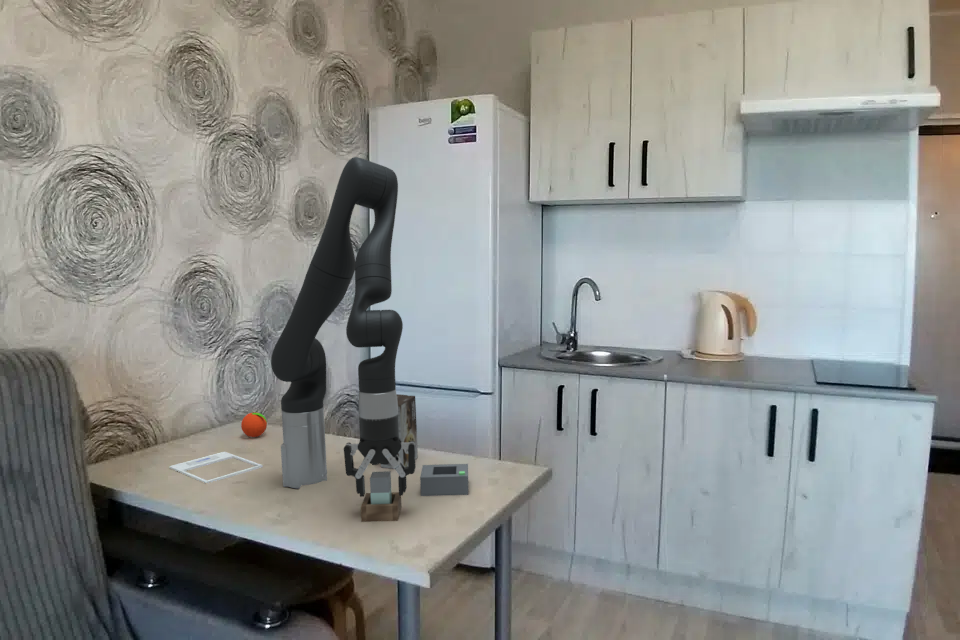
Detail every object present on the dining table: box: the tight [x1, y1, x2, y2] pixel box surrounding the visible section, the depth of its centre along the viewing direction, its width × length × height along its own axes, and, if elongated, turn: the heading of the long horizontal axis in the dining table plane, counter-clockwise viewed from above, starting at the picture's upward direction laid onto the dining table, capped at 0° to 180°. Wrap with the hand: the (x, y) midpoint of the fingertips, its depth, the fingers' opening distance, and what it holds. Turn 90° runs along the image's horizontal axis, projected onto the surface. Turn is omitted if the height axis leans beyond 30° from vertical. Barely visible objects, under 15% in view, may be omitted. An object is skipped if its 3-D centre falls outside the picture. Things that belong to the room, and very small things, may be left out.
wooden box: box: [360, 491, 403, 523], centre depth 137 cm, size 7×7×4 cm
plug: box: [369, 470, 392, 504], centre depth 136 cm, size 4×4×8 cm
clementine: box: [240, 411, 268, 438], centre depth 195 cm, size 8×7×7 cm
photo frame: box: [168, 451, 264, 484], centre depth 170 cm, size 15×1×18 cm
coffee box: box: [380, 393, 419, 469], centre depth 170 cm, size 9×6×16 cm
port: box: [419, 463, 469, 497], centre depth 150 cm, size 10×8×5 cm
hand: (382, 494), depth 136 cm, fingers open, 7 cm apart
